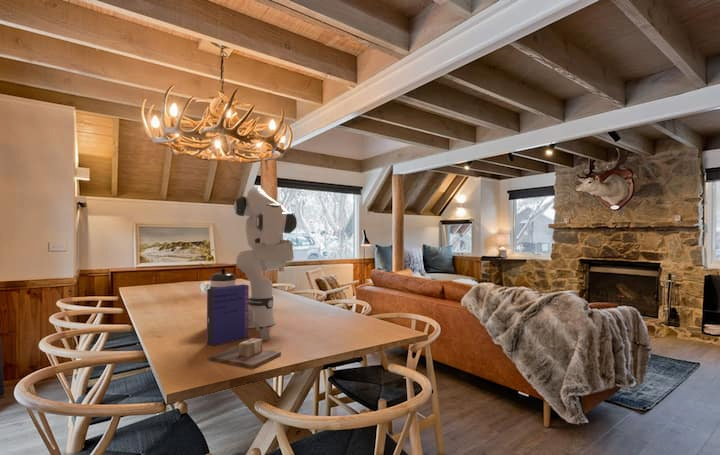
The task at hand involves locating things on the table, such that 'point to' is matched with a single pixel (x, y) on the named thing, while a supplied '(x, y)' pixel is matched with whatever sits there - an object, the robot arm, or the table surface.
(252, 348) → the birch block
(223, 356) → the walnut board
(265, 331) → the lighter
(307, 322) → the table surface
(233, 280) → the coffee press
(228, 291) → the cereal box
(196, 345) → the table surface
